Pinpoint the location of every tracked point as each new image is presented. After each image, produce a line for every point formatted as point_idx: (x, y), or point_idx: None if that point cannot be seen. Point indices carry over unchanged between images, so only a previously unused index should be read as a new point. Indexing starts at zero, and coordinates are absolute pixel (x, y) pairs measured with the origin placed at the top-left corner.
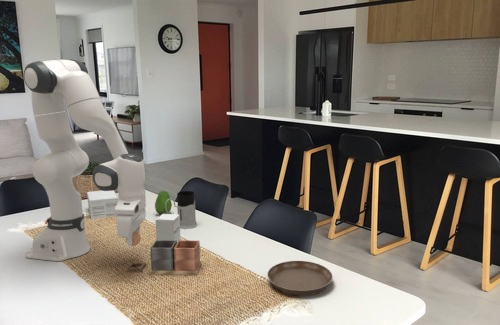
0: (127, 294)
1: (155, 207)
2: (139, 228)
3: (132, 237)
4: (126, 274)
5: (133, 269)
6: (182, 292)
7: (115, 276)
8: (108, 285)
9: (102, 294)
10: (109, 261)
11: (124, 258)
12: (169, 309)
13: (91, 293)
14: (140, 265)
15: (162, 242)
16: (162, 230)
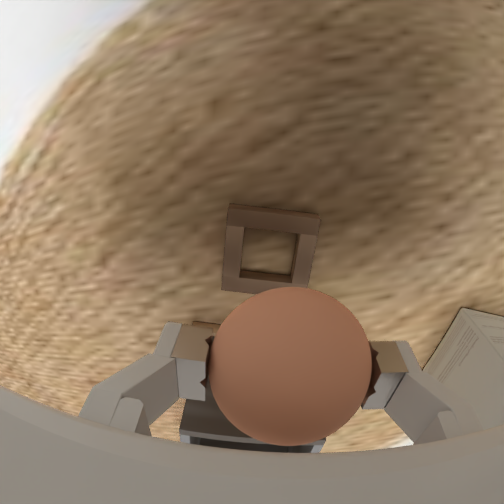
0: (26, 256)
1: None
2: (416, 432)
3: (215, 399)
4: (191, 209)
5: (225, 245)
6: (82, 403)
7: (168, 153)
8: (75, 151)
9: (14, 158)
10: (385, 75)
11: (416, 158)
12: (8, 367)
13: (19, 108)
14: (292, 268)
15: (304, 452)
16: (490, 404)
